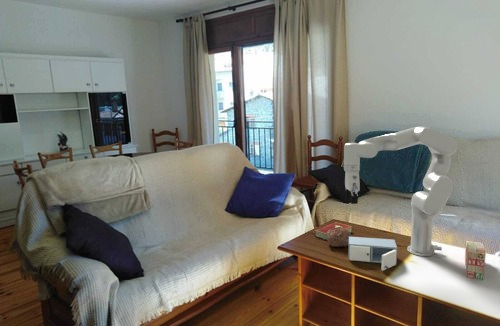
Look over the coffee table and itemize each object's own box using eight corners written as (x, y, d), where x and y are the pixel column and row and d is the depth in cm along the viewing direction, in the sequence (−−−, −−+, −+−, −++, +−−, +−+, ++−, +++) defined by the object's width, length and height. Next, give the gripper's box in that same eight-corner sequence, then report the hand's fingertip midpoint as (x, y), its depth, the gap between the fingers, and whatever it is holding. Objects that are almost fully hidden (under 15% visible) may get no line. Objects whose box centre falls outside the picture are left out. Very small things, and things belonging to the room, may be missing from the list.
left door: (395, 263, 166) (395, 248, 165) (399, 265, 164) (400, 249, 163) (381, 270, 160) (381, 254, 159) (385, 272, 158) (386, 255, 157)
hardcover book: (314, 236, 205) (314, 229, 204) (335, 227, 219) (335, 221, 218) (331, 242, 196) (331, 235, 196) (352, 232, 210) (352, 226, 209)
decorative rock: (351, 242, 194) (352, 225, 192) (350, 250, 183) (350, 232, 181) (328, 240, 198) (328, 223, 196) (325, 248, 188) (325, 230, 186)
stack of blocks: (464, 258, 171) (466, 234, 169) (479, 260, 168) (481, 236, 166) (466, 277, 153) (468, 250, 151) (483, 280, 150) (485, 253, 148)
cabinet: (393, 255, 176) (394, 239, 175) (397, 266, 165) (397, 249, 163) (348, 252, 182) (348, 236, 180) (348, 261, 170) (349, 245, 169)
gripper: (365, 170, 164) (364, 205, 167) (354, 164, 181) (353, 196, 184) (349, 171, 164) (348, 206, 167) (339, 165, 182) (339, 196, 184)
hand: (351, 201), depth 176 cm, fingers open, 9 cm apart
